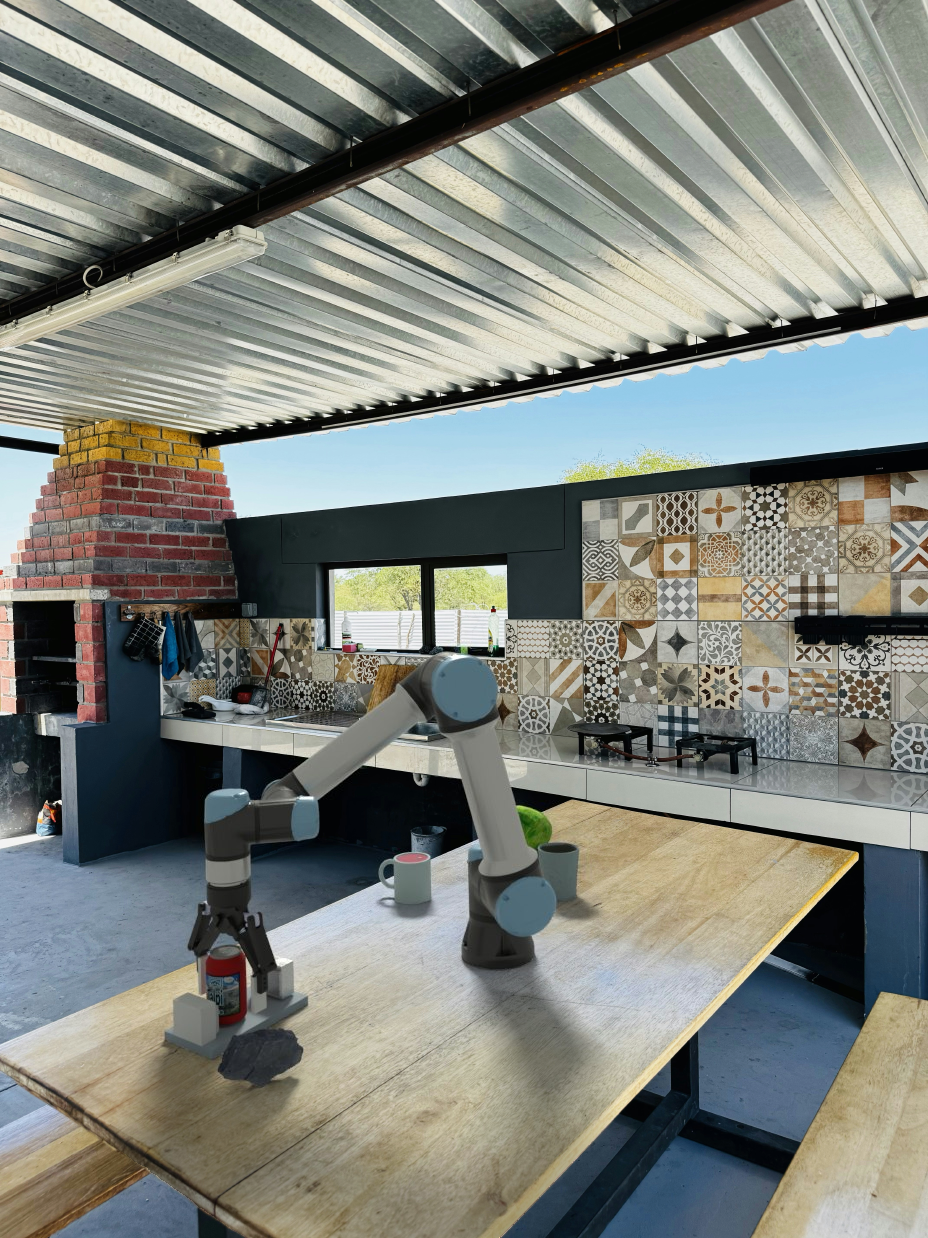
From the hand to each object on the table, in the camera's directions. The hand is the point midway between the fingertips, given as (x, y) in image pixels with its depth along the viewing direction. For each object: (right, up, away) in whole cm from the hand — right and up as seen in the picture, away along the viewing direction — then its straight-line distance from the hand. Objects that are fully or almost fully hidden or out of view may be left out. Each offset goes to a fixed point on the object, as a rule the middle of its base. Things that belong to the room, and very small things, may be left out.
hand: (232, 1001), depth 146 cm
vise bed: (+1, -4, +1) cm, 4 cm away
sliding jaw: (+5, -2, +8) cm, 10 cm away
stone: (+10, -4, -19) cm, 22 cm away
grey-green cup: (+64, -2, +61) cm, 89 cm away
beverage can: (-1, -3, -1) cm, 3 cm away
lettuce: (+57, -2, +98) cm, 114 cm away
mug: (+26, -3, +63) cm, 68 cm away
